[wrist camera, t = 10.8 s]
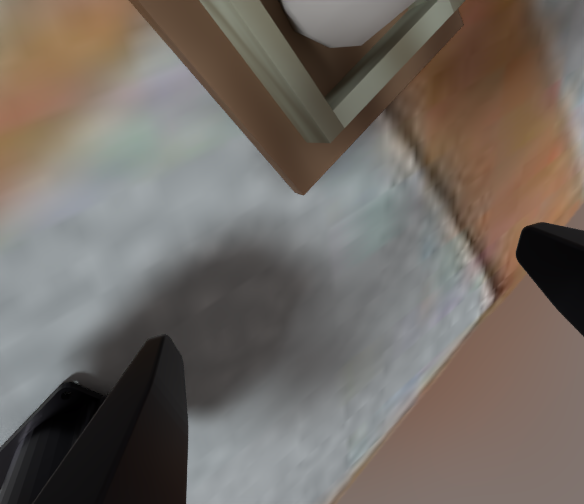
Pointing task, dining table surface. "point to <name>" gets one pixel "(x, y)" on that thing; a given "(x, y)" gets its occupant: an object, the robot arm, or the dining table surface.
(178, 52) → the stand
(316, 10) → the salt shaker
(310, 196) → the dining table surface
